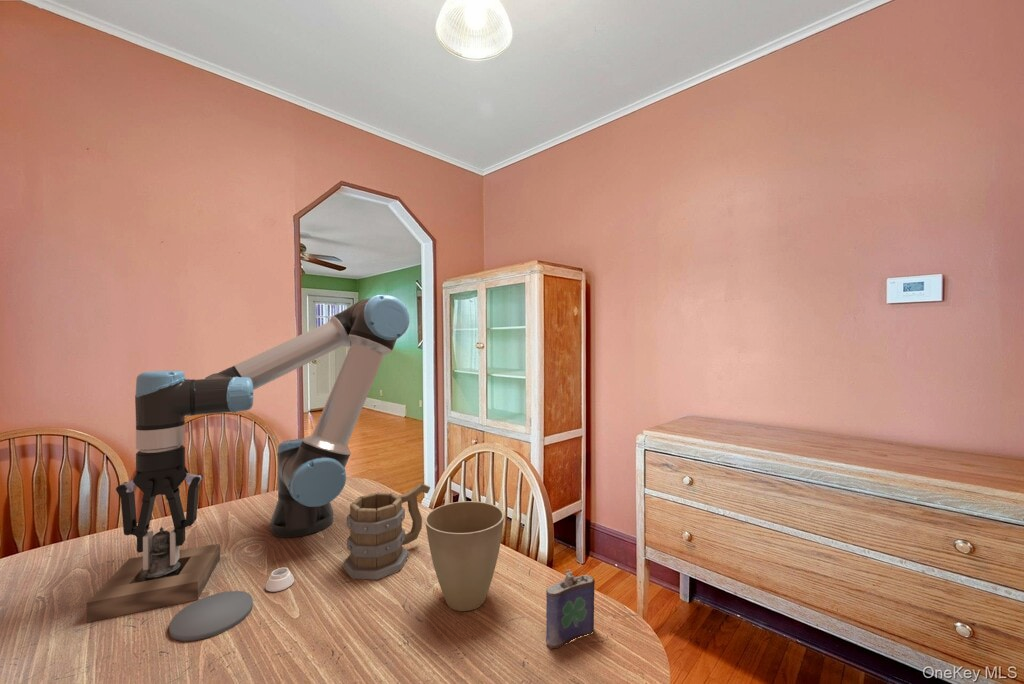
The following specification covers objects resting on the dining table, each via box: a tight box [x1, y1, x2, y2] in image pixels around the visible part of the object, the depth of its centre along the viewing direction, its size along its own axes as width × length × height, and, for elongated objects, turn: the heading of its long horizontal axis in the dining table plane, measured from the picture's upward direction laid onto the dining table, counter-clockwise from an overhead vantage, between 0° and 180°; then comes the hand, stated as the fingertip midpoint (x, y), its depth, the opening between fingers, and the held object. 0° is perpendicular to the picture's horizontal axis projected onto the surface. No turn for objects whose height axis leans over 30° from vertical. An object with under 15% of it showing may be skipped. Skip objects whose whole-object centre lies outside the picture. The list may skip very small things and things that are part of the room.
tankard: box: [342, 482, 431, 581], centre depth 93 cm, size 20×13×15 cm, turn 131°
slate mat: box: [168, 590, 254, 642], centre depth 73 cm, size 12×12×1 cm
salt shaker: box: [142, 527, 180, 581], centre depth 83 cm, size 6×6×12 cm
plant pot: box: [424, 500, 505, 612], centre depth 78 cm, size 15×15×16 cm
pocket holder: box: [86, 543, 221, 623], centre depth 83 cm, size 16×16×4 cm
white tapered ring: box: [265, 567, 295, 593], centre depth 83 cm, size 5×3×5 cm
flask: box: [545, 569, 596, 650], centre depth 68 cm, size 9×3×11 cm, turn 117°
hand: (161, 563), depth 83 cm, fingers closed on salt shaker, 3 cm apart
